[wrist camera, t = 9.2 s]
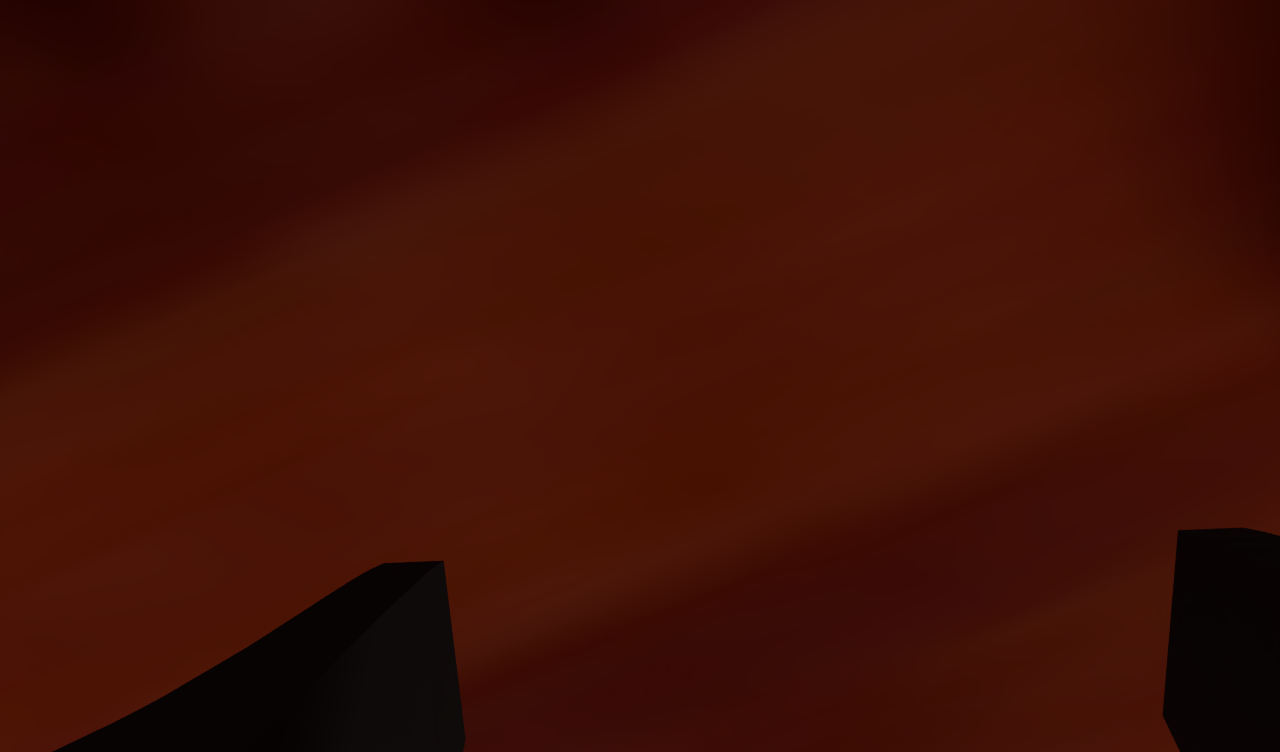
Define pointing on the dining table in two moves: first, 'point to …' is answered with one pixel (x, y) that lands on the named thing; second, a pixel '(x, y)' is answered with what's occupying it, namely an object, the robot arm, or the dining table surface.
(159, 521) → the dining table surface
